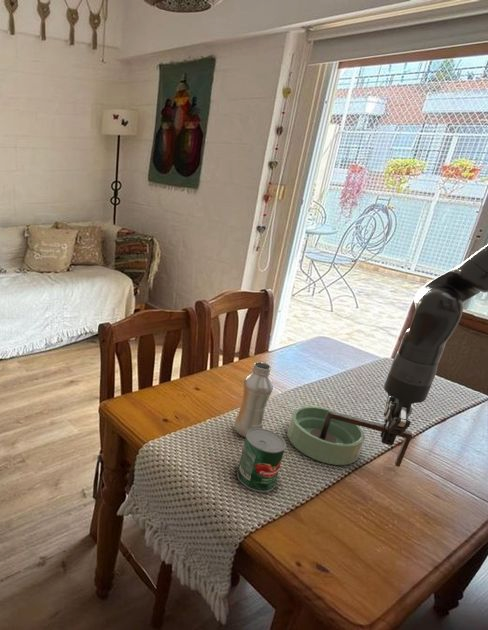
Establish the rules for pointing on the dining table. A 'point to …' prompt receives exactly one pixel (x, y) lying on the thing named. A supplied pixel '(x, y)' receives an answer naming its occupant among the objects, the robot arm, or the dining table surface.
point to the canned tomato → (261, 459)
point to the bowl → (321, 450)
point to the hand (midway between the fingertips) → (386, 440)
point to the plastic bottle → (254, 399)
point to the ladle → (330, 415)
